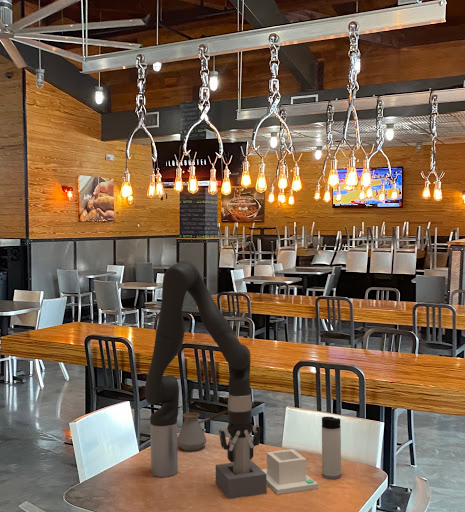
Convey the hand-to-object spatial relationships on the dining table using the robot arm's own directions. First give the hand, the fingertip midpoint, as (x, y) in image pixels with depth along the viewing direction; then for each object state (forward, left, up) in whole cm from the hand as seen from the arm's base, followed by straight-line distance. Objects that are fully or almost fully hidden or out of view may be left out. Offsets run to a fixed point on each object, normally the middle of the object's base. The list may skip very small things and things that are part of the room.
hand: (240, 460), depth 198 cm
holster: (0, 0, -9) cm, 9 cm away
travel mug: (+1, +32, -9) cm, 33 cm away
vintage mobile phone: (0, 0, -9) cm, 9 cm away
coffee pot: (-42, 0, -9) cm, 43 cm away
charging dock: (0, +16, -9) cm, 18 cm away
